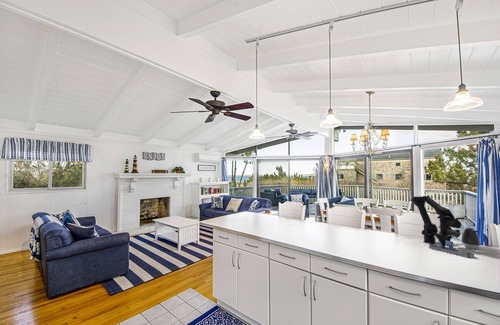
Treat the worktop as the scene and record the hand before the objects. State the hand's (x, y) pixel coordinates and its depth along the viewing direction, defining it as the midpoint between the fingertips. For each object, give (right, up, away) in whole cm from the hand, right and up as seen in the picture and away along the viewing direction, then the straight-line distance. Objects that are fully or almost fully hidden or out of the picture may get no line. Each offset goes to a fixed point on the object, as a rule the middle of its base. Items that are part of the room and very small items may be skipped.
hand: (445, 246), depth 166 cm
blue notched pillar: (0, -2, 0) cm, 2 cm away
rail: (-4, -2, -8) cm, 10 cm away
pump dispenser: (+21, -2, +2) cm, 21 cm away
